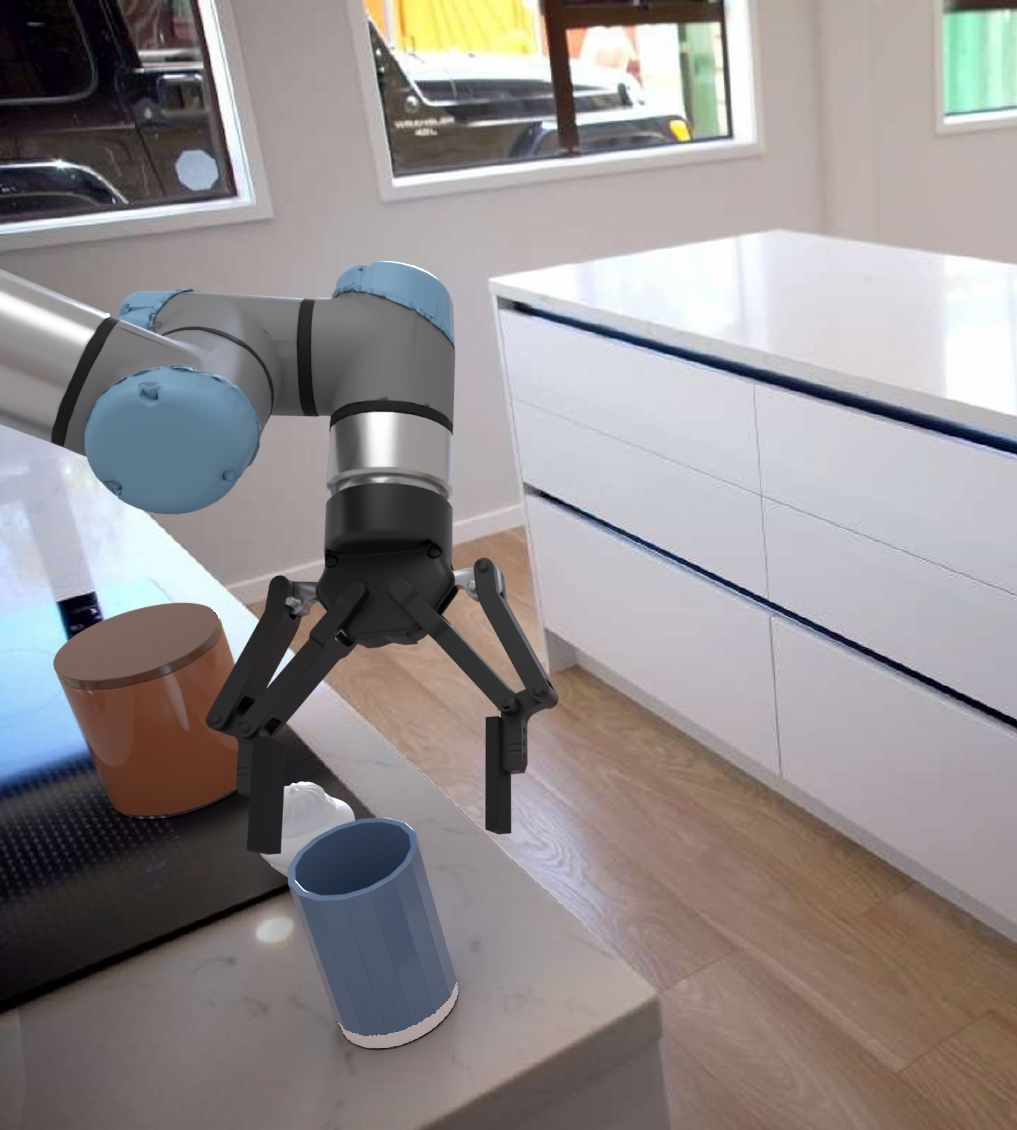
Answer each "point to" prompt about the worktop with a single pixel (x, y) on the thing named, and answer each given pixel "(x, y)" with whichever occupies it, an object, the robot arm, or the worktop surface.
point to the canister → (152, 706)
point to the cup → (373, 925)
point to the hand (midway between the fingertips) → (381, 842)
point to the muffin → (306, 820)
